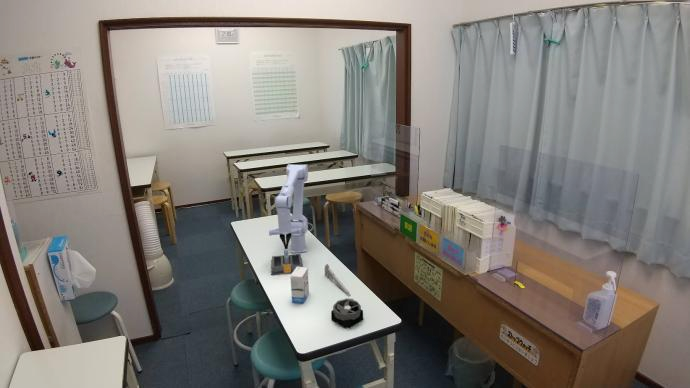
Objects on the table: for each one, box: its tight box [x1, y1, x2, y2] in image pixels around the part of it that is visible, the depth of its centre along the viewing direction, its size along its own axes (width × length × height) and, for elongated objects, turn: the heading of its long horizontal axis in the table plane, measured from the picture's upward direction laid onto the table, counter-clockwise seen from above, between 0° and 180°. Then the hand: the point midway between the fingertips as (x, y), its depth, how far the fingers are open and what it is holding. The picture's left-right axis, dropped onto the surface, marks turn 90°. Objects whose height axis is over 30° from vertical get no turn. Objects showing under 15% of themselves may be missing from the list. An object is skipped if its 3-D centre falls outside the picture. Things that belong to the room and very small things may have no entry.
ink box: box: [289, 266, 310, 304], centre depth 159 cm, size 9×5×12 cm, turn 168°
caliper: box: [324, 263, 351, 297], centre depth 169 cm, size 21×1×6 cm, turn 31°
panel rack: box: [270, 253, 304, 276], centre depth 186 cm, size 14×15×5 cm
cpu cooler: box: [330, 298, 364, 329], centre depth 145 cm, size 10×6×10 cm
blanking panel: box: [283, 249, 290, 264], centre depth 186 cm, size 8×2×6 cm, turn 10°
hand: (286, 248), depth 184 cm, fingers closed
